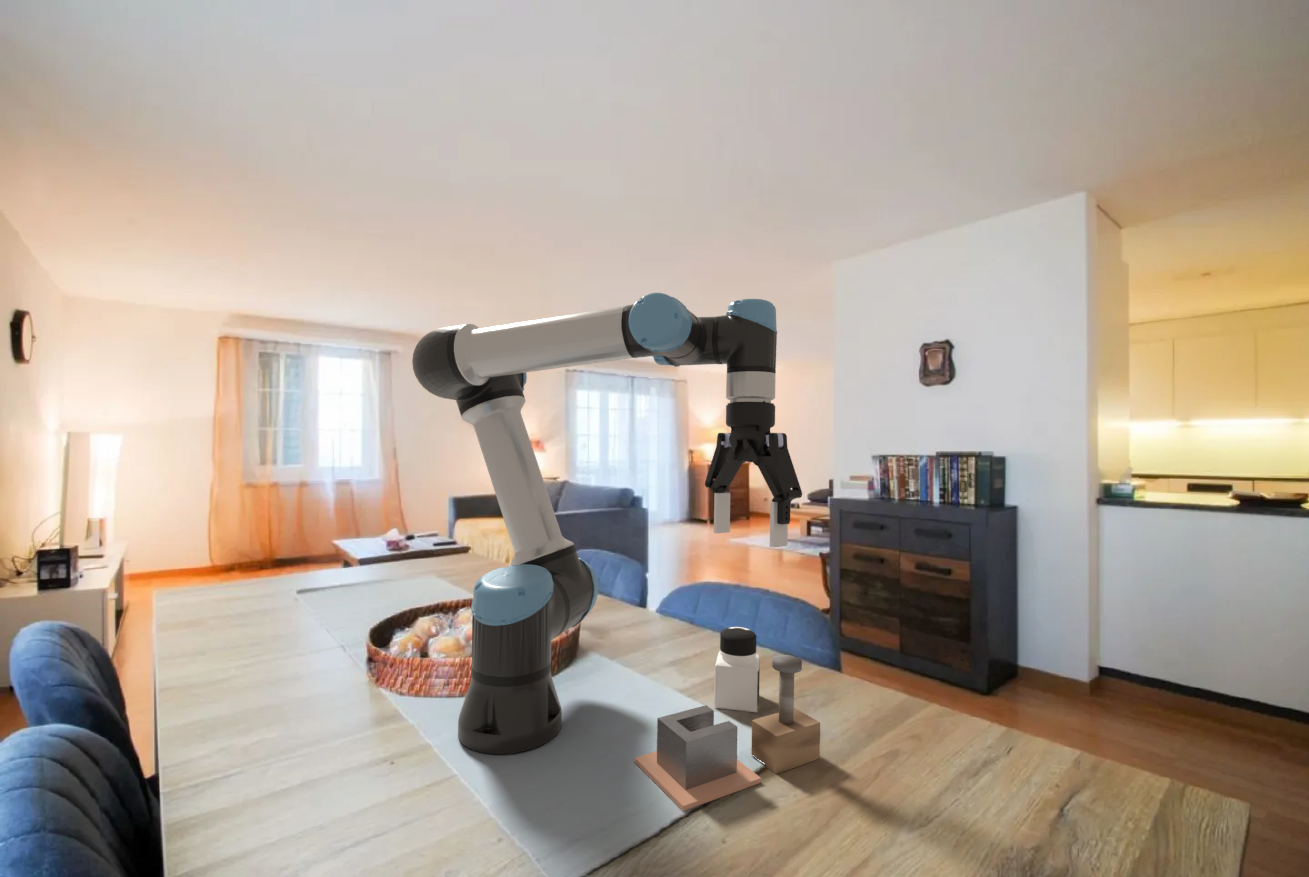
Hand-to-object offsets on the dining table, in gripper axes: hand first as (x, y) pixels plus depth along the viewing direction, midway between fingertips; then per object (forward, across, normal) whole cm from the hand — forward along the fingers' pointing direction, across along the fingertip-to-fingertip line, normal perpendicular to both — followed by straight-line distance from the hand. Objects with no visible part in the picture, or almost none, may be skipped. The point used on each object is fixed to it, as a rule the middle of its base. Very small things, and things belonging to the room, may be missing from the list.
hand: (748, 539), depth 90 cm
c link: (+28, -7, +14) cm, 32 cm away
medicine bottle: (+29, +7, -4) cm, 30 cm away
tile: (+29, -7, +14) cm, 33 cm away
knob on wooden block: (+29, -10, +1) cm, 30 cm away
